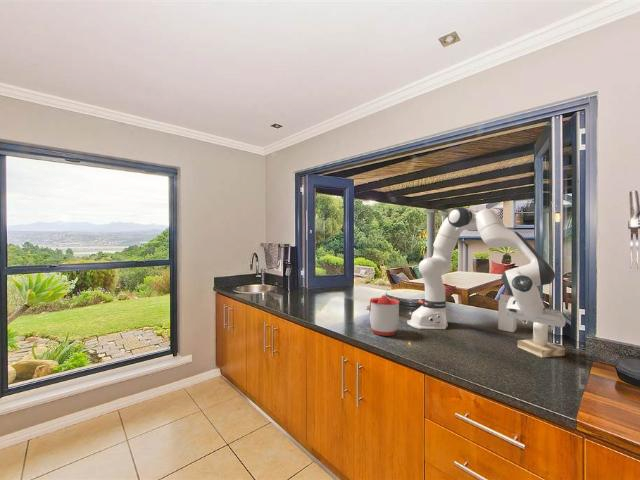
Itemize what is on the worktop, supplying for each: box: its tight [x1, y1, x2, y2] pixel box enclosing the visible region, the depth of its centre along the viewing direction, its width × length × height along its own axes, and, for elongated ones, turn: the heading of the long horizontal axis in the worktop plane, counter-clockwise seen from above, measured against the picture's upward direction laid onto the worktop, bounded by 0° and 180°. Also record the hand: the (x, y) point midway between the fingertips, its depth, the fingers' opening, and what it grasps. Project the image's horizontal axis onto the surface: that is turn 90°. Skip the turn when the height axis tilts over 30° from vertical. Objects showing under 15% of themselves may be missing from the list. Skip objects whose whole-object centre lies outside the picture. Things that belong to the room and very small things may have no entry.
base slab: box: [517, 338, 566, 359], centre depth 130 cm, size 12×12×3 cm
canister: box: [532, 322, 549, 346], centre depth 130 cm, size 6×6×13 cm
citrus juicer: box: [365, 294, 400, 337], centre depth 153 cm, size 16×17×20 cm
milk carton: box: [497, 293, 518, 333], centre depth 159 cm, size 7×7×19 cm
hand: (538, 325), depth 127 cm, fingers open, 8 cm apart
